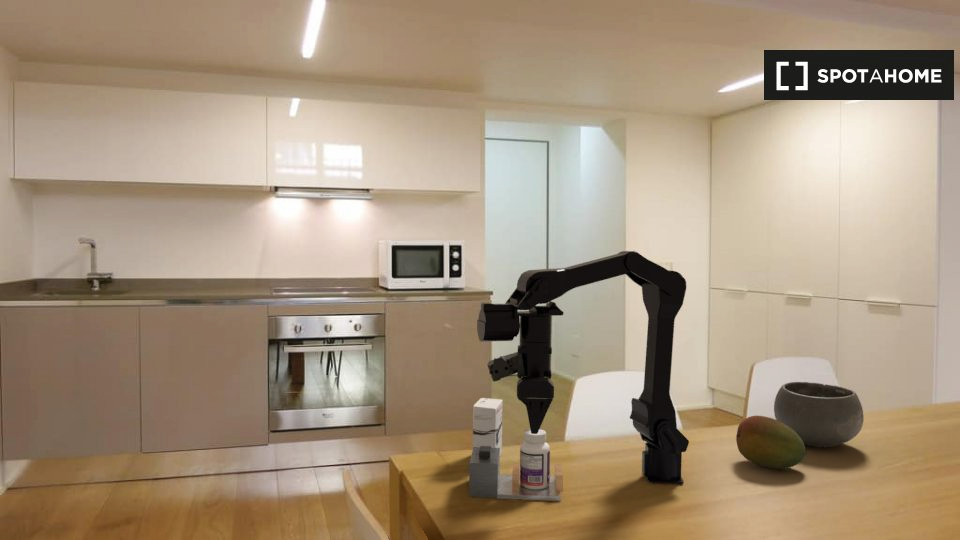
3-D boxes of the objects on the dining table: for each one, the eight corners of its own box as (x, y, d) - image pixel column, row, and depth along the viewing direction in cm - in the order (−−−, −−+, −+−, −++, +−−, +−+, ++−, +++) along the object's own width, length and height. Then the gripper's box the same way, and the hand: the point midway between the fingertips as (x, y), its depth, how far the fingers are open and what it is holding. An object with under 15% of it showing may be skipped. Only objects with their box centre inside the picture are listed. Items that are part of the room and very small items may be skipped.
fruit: (731, 454, 140) (732, 408, 139) (795, 459, 137) (796, 411, 137) (741, 473, 128) (743, 423, 128) (811, 478, 126) (812, 427, 125)
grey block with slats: (560, 480, 124) (560, 442, 124) (563, 501, 114) (563, 460, 114) (473, 477, 125) (473, 440, 125) (468, 497, 115) (469, 457, 115)
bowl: (864, 440, 150) (866, 385, 150) (860, 462, 135) (862, 401, 135) (779, 428, 160) (780, 376, 159) (767, 447, 145) (768, 390, 144)
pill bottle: (533, 477, 123) (534, 425, 123) (555, 485, 119) (556, 432, 119) (513, 484, 120) (514, 431, 119) (535, 492, 116) (536, 438, 115)
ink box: (495, 466, 131) (496, 408, 131) (471, 464, 132) (471, 406, 132) (502, 453, 140) (503, 398, 139) (479, 451, 141) (480, 397, 140)
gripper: (493, 332, 128) (492, 411, 129) (487, 347, 109) (486, 440, 110) (550, 333, 127) (549, 413, 128) (554, 349, 109) (553, 442, 109)
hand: (534, 426), depth 119 cm, fingers open, 9 cm apart
